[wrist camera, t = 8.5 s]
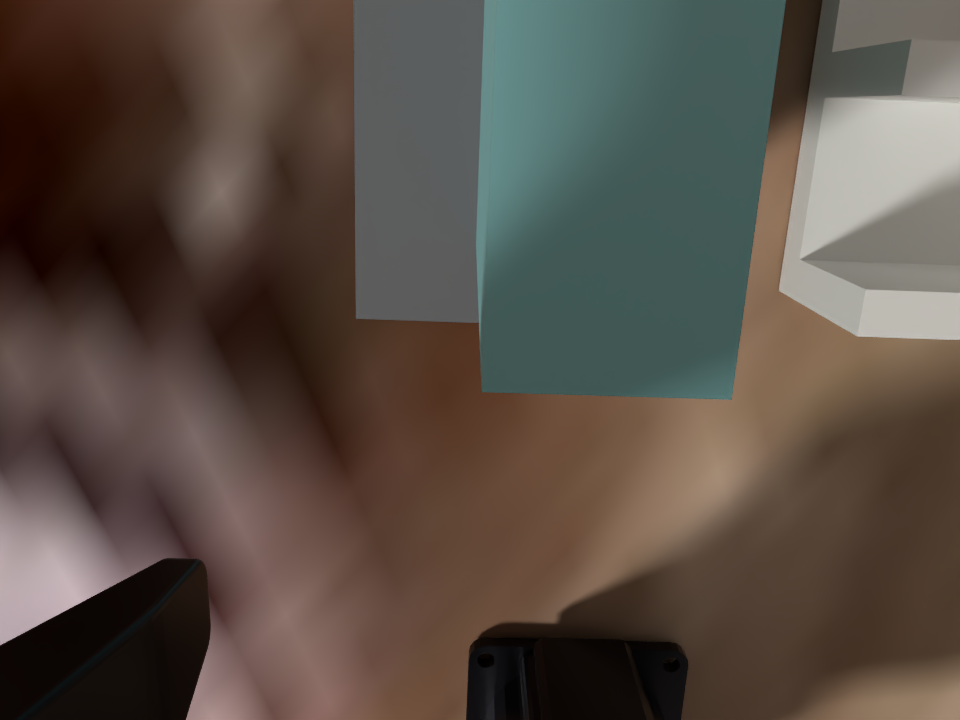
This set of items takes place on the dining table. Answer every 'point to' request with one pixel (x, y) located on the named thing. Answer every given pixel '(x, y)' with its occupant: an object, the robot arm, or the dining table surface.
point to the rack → (880, 172)
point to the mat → (417, 158)
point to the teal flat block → (620, 192)
